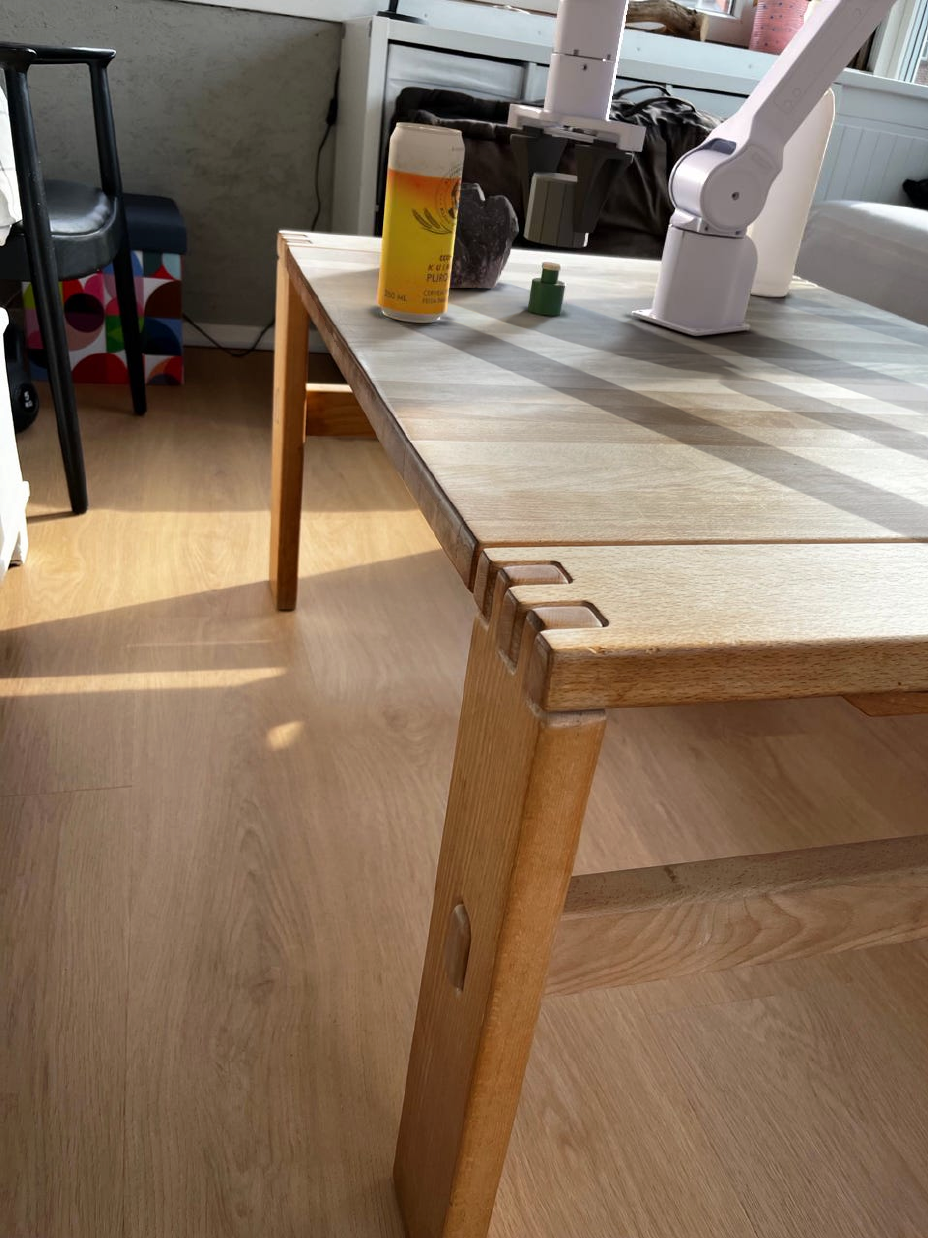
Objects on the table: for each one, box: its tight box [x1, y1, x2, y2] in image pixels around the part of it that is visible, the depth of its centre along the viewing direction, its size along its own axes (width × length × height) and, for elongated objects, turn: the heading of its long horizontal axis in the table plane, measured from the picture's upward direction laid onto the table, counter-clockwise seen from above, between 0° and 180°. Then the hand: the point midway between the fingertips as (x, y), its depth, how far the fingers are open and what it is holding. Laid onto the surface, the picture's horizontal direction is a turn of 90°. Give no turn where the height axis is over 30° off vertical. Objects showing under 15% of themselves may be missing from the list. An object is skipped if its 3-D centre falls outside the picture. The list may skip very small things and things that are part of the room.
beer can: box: [376, 122, 466, 324], centre depth 86 cm, size 6×6×15 cm
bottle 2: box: [746, 0, 836, 298], centre depth 116 cm, size 8×8×30 cm
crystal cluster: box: [449, 182, 520, 289], centre depth 104 cm, size 13×14×10 cm
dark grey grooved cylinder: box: [523, 172, 590, 249], centre depth 93 cm, size 6×6×6 cm
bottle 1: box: [527, 261, 567, 317], centre depth 97 cm, size 3×3×4 cm
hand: (557, 225), depth 94 cm, fingers closed on dark grey grooved cylinder, 5 cm apart
